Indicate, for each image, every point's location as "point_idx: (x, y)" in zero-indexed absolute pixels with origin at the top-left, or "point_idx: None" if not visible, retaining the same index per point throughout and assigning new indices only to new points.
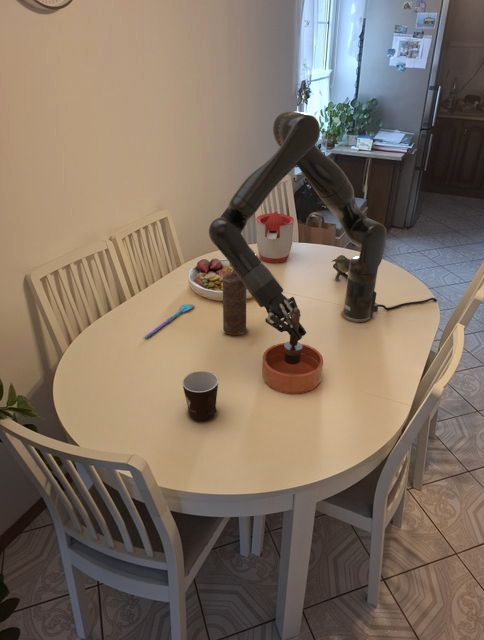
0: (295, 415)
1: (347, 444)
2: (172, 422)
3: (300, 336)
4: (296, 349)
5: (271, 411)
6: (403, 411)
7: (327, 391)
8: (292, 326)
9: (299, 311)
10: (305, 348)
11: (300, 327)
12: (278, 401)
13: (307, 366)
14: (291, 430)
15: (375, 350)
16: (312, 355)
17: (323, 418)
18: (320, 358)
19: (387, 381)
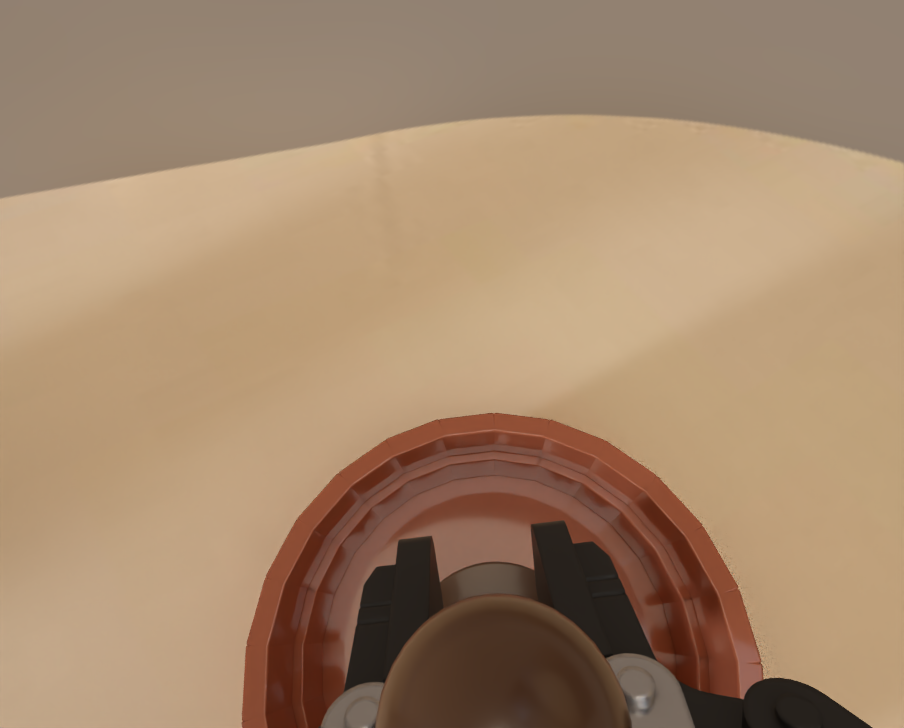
0: (774, 428)
1: (741, 185)
2: None
3: (556, 531)
4: (536, 596)
5: (861, 553)
6: (424, 127)
7: (492, 397)
8: (626, 667)
9: (484, 604)
10: (275, 661)
11: (430, 610)
12: (760, 571)
13: (359, 602)
14: (876, 386)
15: (13, 370)
16: (305, 583)
17: (685, 317)
18: (370, 470)
19: (263, 231)
